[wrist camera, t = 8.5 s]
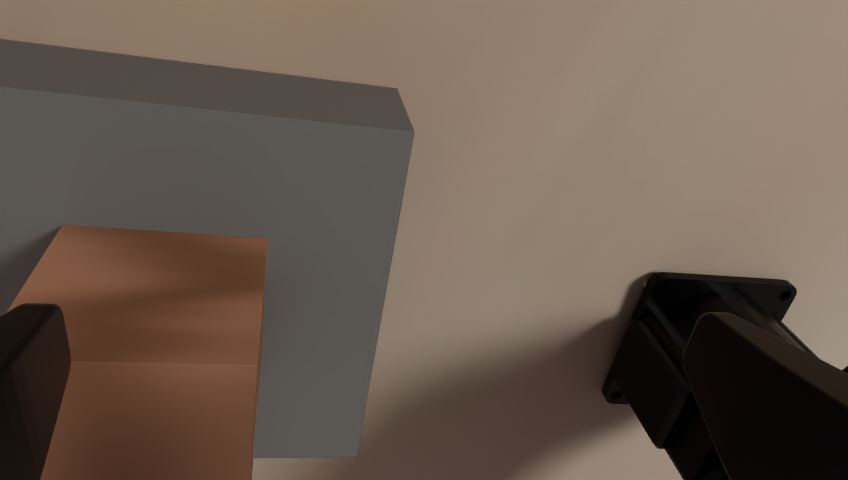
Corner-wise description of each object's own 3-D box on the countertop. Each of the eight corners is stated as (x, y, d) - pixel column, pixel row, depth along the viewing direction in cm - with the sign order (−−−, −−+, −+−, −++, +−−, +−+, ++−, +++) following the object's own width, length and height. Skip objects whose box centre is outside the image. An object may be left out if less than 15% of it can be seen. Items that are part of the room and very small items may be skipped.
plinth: (397, 88, 19) (414, 132, 16) (349, 385, 25) (356, 456, 22) (-62, 31, 16) (-141, 71, 13) (7, 380, 22) (-38, 461, 19)
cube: (268, 238, 17) (257, 365, 13) (259, 377, 19) (248, 523, 15) (62, 224, 16) (-24, 359, 12) (81, 374, 18) (15, 531, 14)
